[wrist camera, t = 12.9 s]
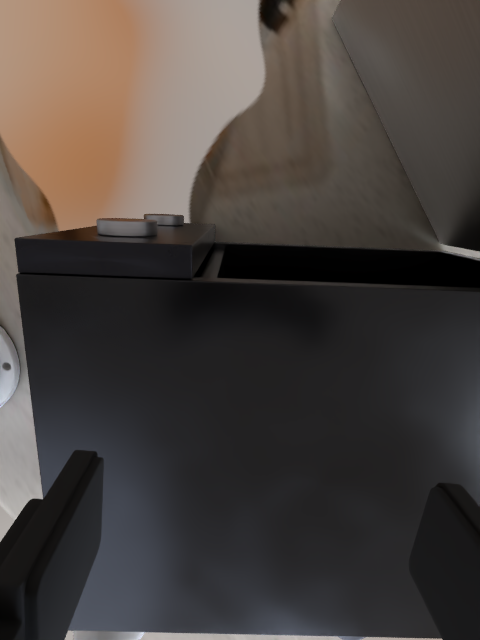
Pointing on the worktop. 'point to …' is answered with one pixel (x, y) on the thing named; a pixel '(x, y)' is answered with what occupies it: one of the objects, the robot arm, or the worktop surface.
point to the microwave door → (425, 99)
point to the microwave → (252, 420)
